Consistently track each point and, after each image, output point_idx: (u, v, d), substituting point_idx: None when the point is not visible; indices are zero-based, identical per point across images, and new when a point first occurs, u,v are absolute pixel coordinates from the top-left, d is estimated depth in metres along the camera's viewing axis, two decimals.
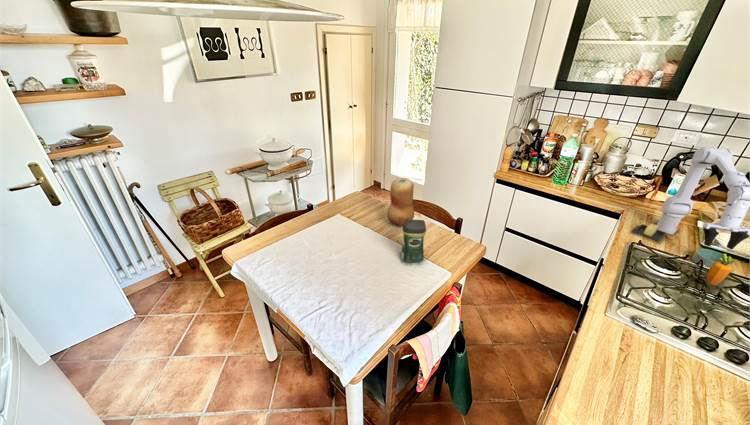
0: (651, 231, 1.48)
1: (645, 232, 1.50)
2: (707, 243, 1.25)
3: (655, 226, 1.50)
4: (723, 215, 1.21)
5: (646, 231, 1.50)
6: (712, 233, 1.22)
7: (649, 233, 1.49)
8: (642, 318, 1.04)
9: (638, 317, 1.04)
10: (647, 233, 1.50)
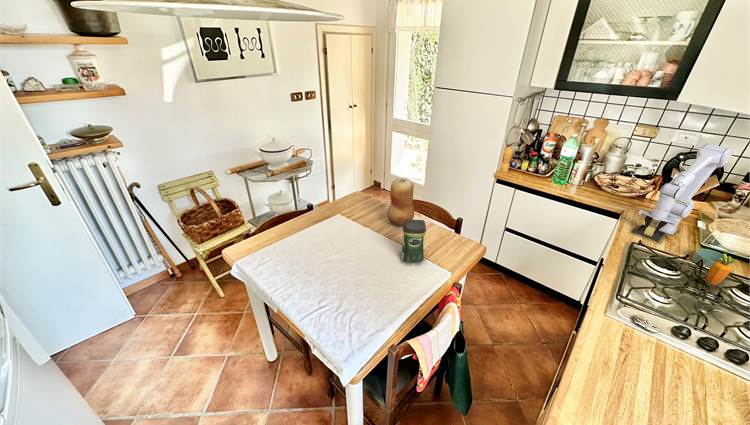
0: (651, 231, 1.48)
1: (645, 232, 1.50)
2: None
3: (655, 226, 1.50)
4: None
5: (646, 231, 1.50)
6: (645, 220, 1.50)
7: (649, 233, 1.49)
8: (642, 318, 1.04)
9: (638, 317, 1.04)
10: (647, 233, 1.50)
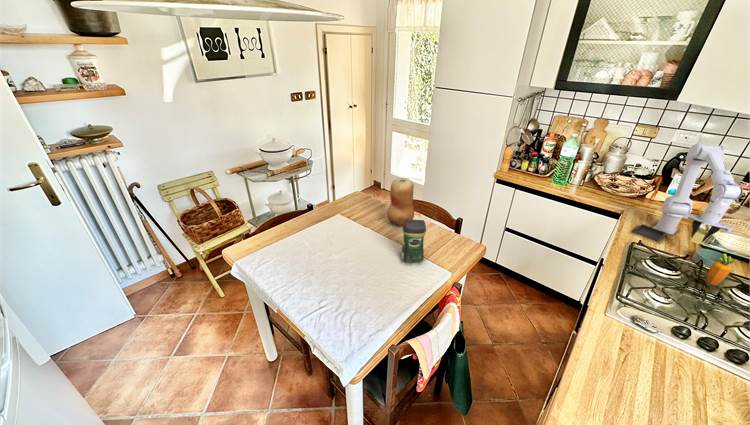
0: (700, 238, 1.30)
1: (693, 239, 1.32)
2: (692, 234, 1.35)
3: (704, 232, 1.32)
4: None
5: (694, 238, 1.32)
6: (692, 225, 1.32)
7: (698, 240, 1.31)
8: (642, 318, 1.04)
9: (638, 317, 1.04)
10: (695, 240, 1.32)
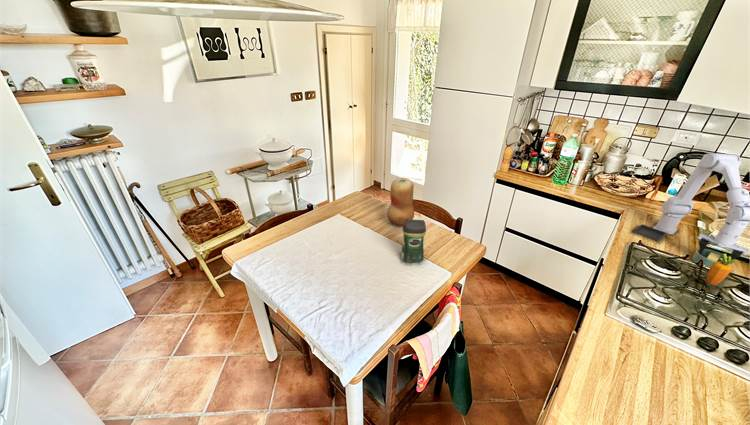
0: None
1: None
2: (699, 253, 1.33)
3: (717, 255, 1.29)
4: None
5: None
6: (700, 243, 1.30)
7: None
8: (642, 318, 1.04)
9: (638, 317, 1.04)
10: None
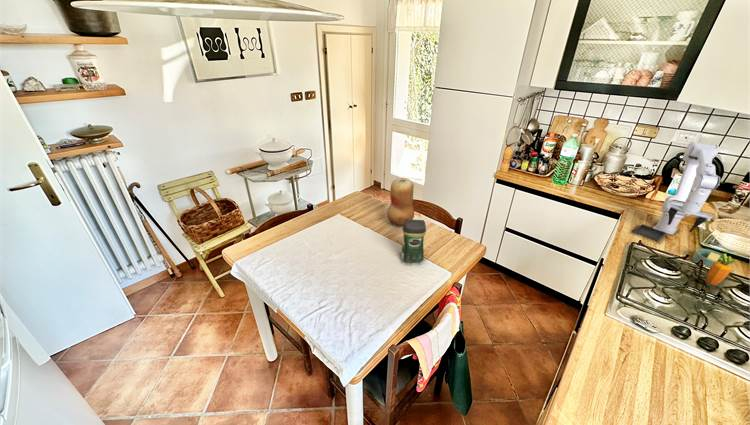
0: None
1: None
2: None
3: (717, 255, 1.29)
4: None
5: None
6: (669, 212, 1.40)
7: None
8: (642, 318, 1.04)
9: (638, 317, 1.04)
10: None
